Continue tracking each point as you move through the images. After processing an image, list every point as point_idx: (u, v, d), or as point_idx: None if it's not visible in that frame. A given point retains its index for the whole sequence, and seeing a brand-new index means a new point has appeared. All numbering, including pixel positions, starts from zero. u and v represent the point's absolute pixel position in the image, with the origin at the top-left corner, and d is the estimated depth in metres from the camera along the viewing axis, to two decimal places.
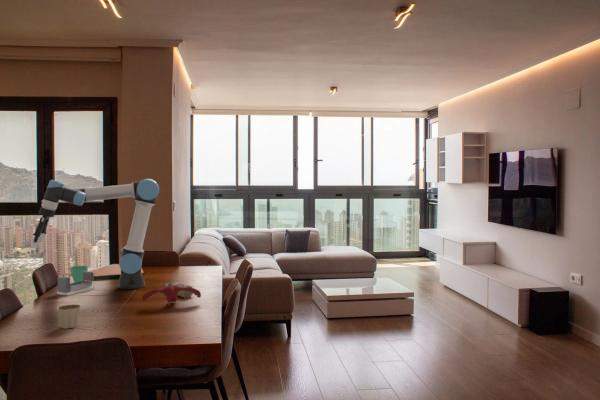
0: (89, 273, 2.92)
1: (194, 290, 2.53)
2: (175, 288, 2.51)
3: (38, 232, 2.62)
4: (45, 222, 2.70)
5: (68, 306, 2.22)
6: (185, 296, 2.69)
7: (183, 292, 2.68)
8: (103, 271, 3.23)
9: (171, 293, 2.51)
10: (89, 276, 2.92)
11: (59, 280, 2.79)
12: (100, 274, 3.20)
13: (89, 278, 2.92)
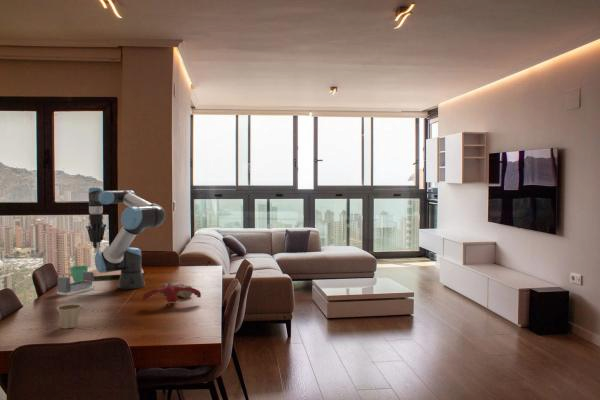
0: (89, 273, 2.92)
1: (194, 290, 2.53)
2: (175, 288, 2.51)
3: (91, 239, 2.95)
4: None
5: (68, 305, 2.22)
6: (185, 296, 2.69)
7: (183, 292, 2.68)
8: None
9: (171, 293, 2.51)
10: (89, 276, 2.92)
11: (59, 280, 2.79)
12: (100, 274, 3.19)
13: (89, 278, 2.92)
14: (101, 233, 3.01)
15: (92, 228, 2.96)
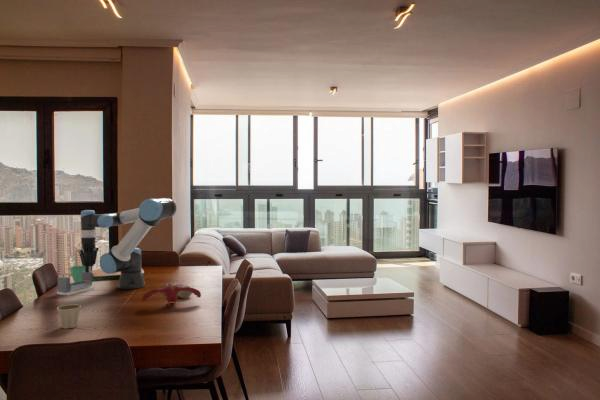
0: (88, 273, 2.91)
1: (194, 290, 2.53)
2: (175, 288, 2.51)
3: (83, 263, 2.90)
4: None
5: (68, 305, 2.22)
6: (183, 296, 2.68)
7: (181, 292, 2.67)
8: None
9: (171, 293, 2.51)
10: (88, 276, 2.92)
11: (59, 280, 2.79)
12: (101, 274, 3.18)
13: (88, 278, 2.92)
14: (93, 257, 2.97)
15: (84, 252, 2.92)
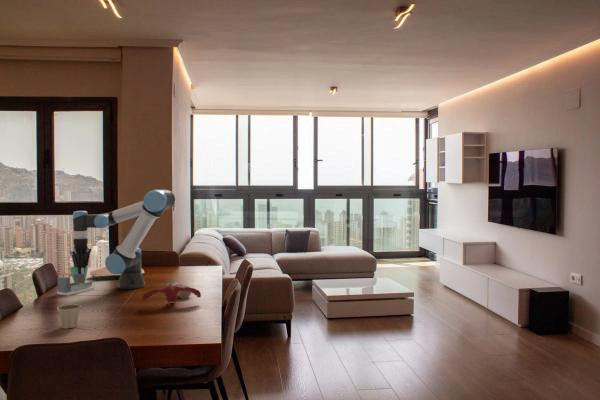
0: (80, 275, 2.87)
1: (194, 290, 2.53)
2: (175, 288, 2.51)
3: (75, 265, 2.86)
4: None
5: (68, 305, 2.22)
6: (182, 297, 2.68)
7: (180, 292, 2.67)
8: (104, 271, 3.21)
9: (171, 293, 2.51)
10: (80, 278, 2.87)
11: (59, 280, 2.79)
12: (101, 274, 3.18)
13: (80, 280, 2.87)
14: (86, 258, 2.92)
15: (76, 253, 2.87)
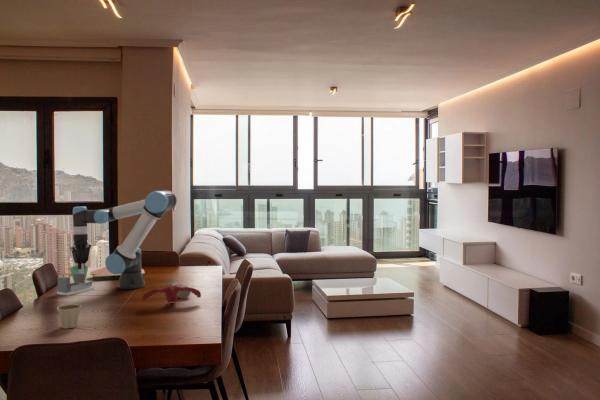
0: (80, 275, 2.87)
1: (194, 290, 2.53)
2: (175, 288, 2.51)
3: (75, 260, 2.85)
4: None
5: (68, 305, 2.22)
6: (181, 297, 2.68)
7: (179, 293, 2.67)
8: (104, 272, 3.21)
9: (171, 293, 2.51)
10: (80, 278, 2.87)
11: (59, 280, 2.79)
12: (101, 275, 3.18)
13: (80, 280, 2.87)
14: (86, 254, 2.92)
15: (76, 249, 2.87)
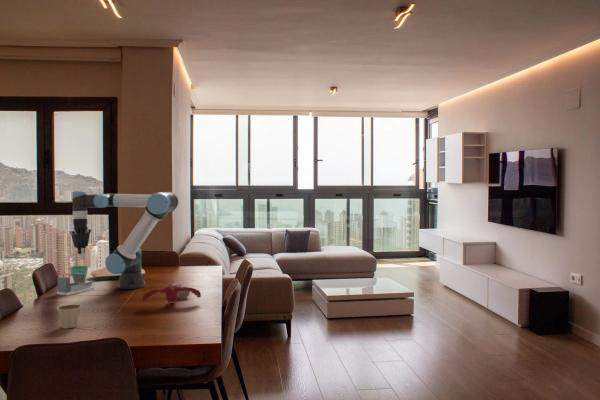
0: (80, 275, 2.87)
1: (194, 290, 2.53)
2: (175, 288, 2.51)
3: (75, 245, 2.85)
4: None
5: (68, 305, 2.22)
6: (180, 297, 2.67)
7: (178, 293, 2.67)
8: (105, 272, 3.21)
9: (171, 293, 2.51)
10: (80, 278, 2.87)
11: (59, 280, 2.79)
12: (101, 275, 3.17)
13: (80, 280, 2.87)
14: (86, 238, 2.91)
15: (76, 233, 2.86)
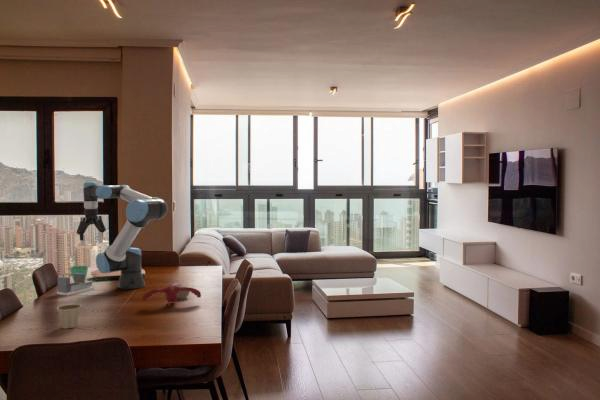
0: (80, 275, 2.87)
1: (194, 290, 2.53)
2: (175, 288, 2.51)
3: (79, 231, 2.89)
4: None
5: (68, 306, 2.22)
6: (179, 297, 2.67)
7: (177, 293, 2.66)
8: None
9: (171, 293, 2.51)
10: (80, 278, 2.87)
11: (59, 280, 2.79)
12: (102, 275, 3.17)
13: (80, 280, 2.87)
14: (101, 225, 3.04)
15: None
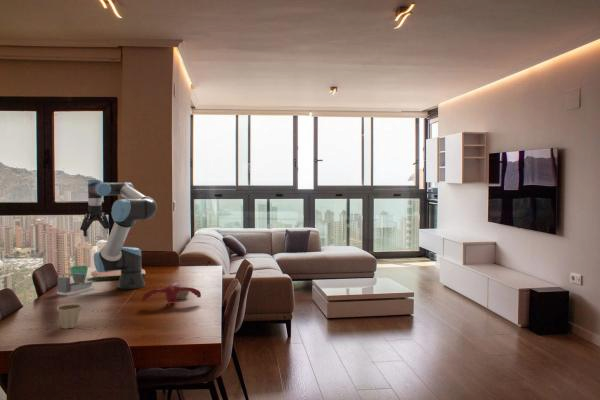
0: (80, 275, 2.87)
1: (194, 290, 2.53)
2: (175, 288, 2.51)
3: (82, 227, 2.94)
4: None
5: (68, 305, 2.22)
6: (179, 297, 2.67)
7: (177, 293, 2.66)
8: (105, 272, 3.20)
9: (171, 293, 2.51)
10: (80, 278, 2.87)
11: (59, 280, 2.79)
12: (102, 275, 3.17)
13: (80, 280, 2.87)
14: (105, 221, 3.09)
15: None
